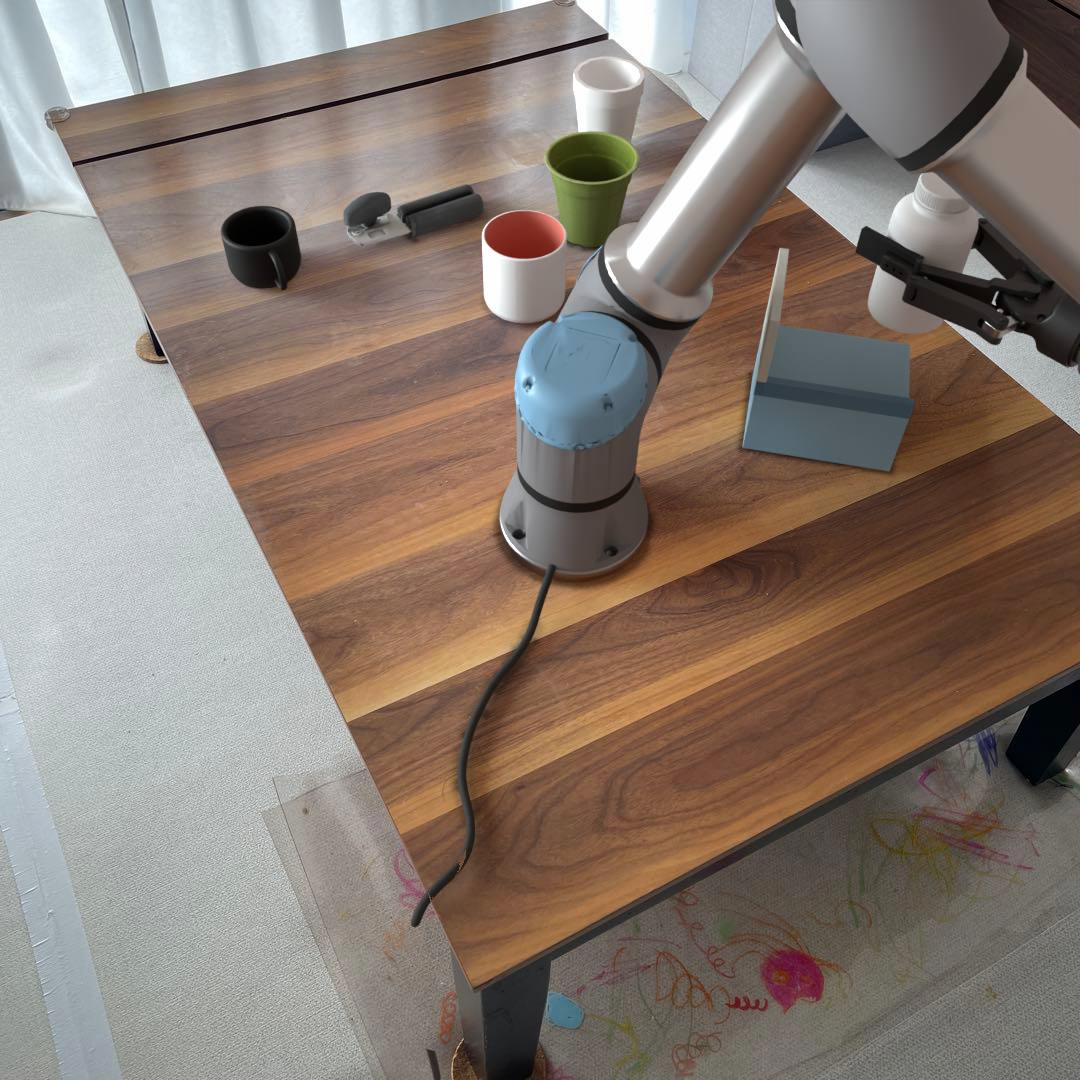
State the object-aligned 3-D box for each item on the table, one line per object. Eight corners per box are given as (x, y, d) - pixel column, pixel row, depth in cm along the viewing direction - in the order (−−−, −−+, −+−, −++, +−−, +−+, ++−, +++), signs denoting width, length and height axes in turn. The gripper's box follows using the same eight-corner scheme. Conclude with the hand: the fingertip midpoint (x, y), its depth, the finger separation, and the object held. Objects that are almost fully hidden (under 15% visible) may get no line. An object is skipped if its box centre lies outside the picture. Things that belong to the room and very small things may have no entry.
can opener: (358, 261, 143) (352, 219, 138) (342, 241, 146) (335, 198, 141) (487, 217, 150) (486, 175, 145) (469, 198, 152) (467, 156, 147)
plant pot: (587, 195, 153) (590, 120, 144) (651, 233, 148) (659, 157, 139) (525, 231, 148) (524, 155, 139) (589, 271, 142) (593, 195, 134)
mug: (222, 264, 143) (209, 217, 137) (288, 244, 145) (279, 197, 140) (254, 318, 136) (242, 270, 130) (323, 296, 139) (315, 248, 133)
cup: (556, 333, 135) (558, 265, 127) (475, 322, 136) (472, 254, 128) (571, 283, 141) (574, 215, 133) (494, 272, 142) (492, 204, 134)
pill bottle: (960, 309, 114) (1008, 180, 102) (919, 348, 110) (964, 218, 98) (892, 276, 117) (931, 147, 105) (850, 312, 113) (886, 183, 102)
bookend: (889, 472, 121) (937, 344, 107) (742, 448, 123) (769, 320, 109) (891, 397, 128) (936, 269, 114) (752, 375, 130) (779, 247, 116)
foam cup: (648, 156, 159) (657, 69, 149) (616, 187, 154) (622, 99, 144) (591, 136, 162) (596, 49, 152) (558, 166, 157) (560, 78, 147)
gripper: (1021, 419, 97) (813, 297, 108) (1138, 316, 106) (936, 212, 117) (1052, 354, 92) (829, 231, 102) (1173, 250, 101) (958, 147, 111)
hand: (887, 221), depth 109 cm, fingers closed on pill bottle, 8 cm apart
